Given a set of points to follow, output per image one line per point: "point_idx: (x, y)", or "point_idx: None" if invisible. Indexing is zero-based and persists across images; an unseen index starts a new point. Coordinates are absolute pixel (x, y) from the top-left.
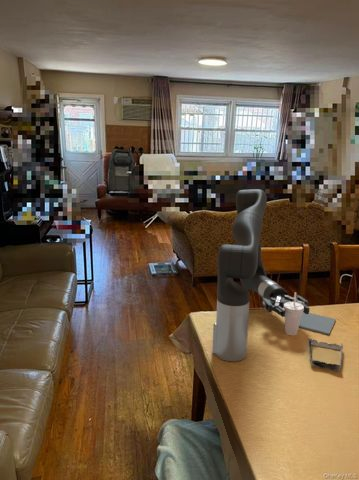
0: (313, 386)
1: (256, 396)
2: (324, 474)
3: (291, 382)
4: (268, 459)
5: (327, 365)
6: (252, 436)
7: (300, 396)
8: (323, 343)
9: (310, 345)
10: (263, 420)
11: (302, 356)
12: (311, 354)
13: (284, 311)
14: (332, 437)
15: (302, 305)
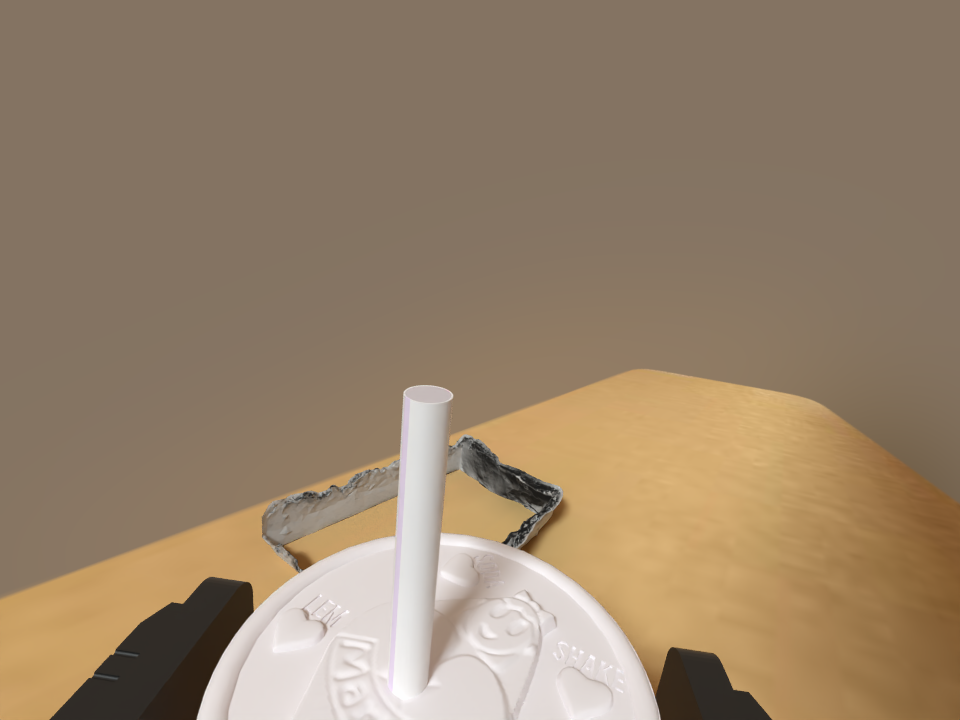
0: (612, 460)
1: (842, 488)
2: (689, 376)
3: (692, 490)
4: (792, 403)
5: (496, 475)
6: (834, 429)
7: (677, 452)
8: None
9: None
10: (808, 441)
11: None
12: (532, 517)
13: (683, 651)
14: (642, 391)
15: (264, 612)
